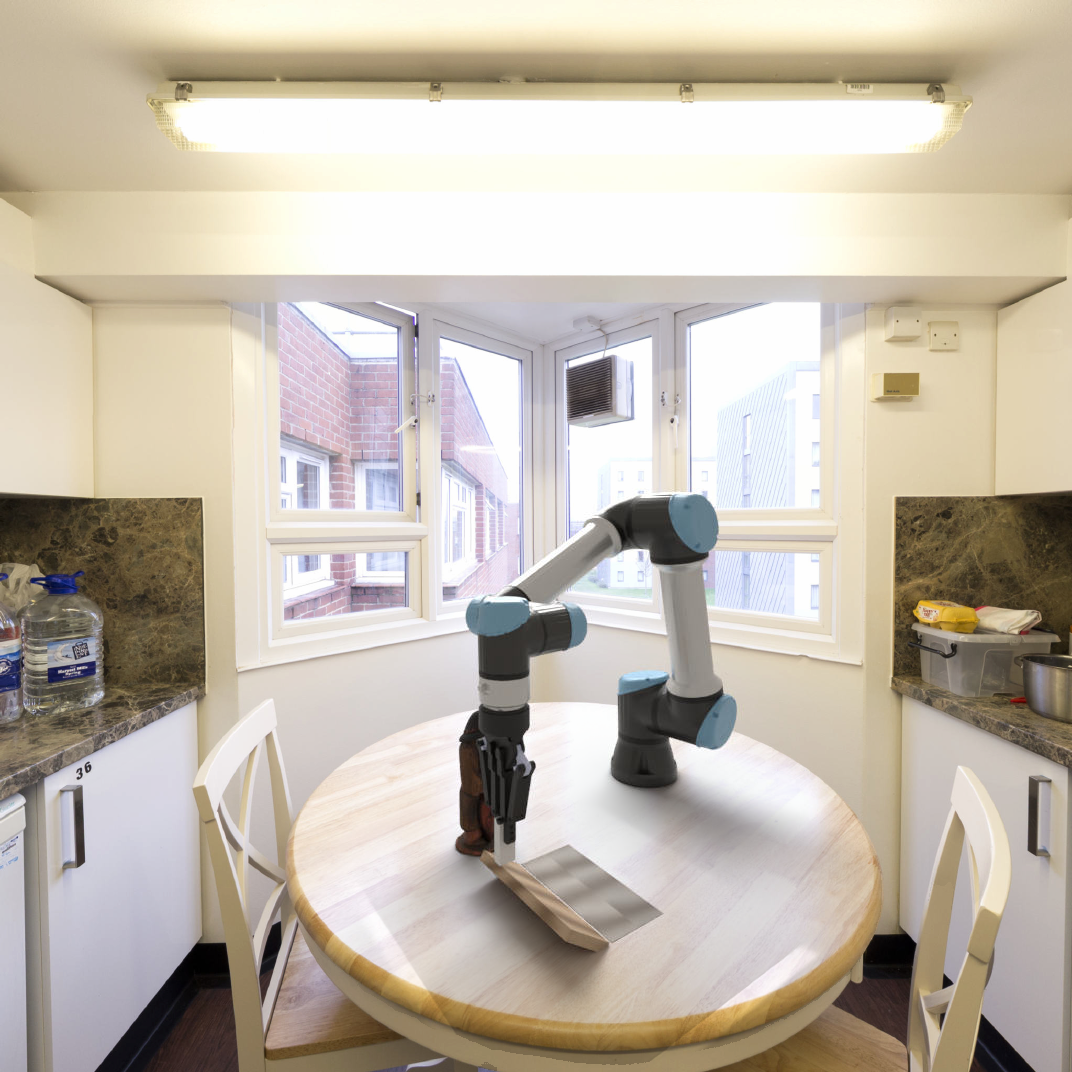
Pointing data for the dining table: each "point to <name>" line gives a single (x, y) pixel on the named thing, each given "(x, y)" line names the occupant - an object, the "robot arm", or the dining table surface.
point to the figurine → (473, 796)
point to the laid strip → (592, 892)
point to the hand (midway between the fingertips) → (504, 860)
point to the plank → (546, 904)
